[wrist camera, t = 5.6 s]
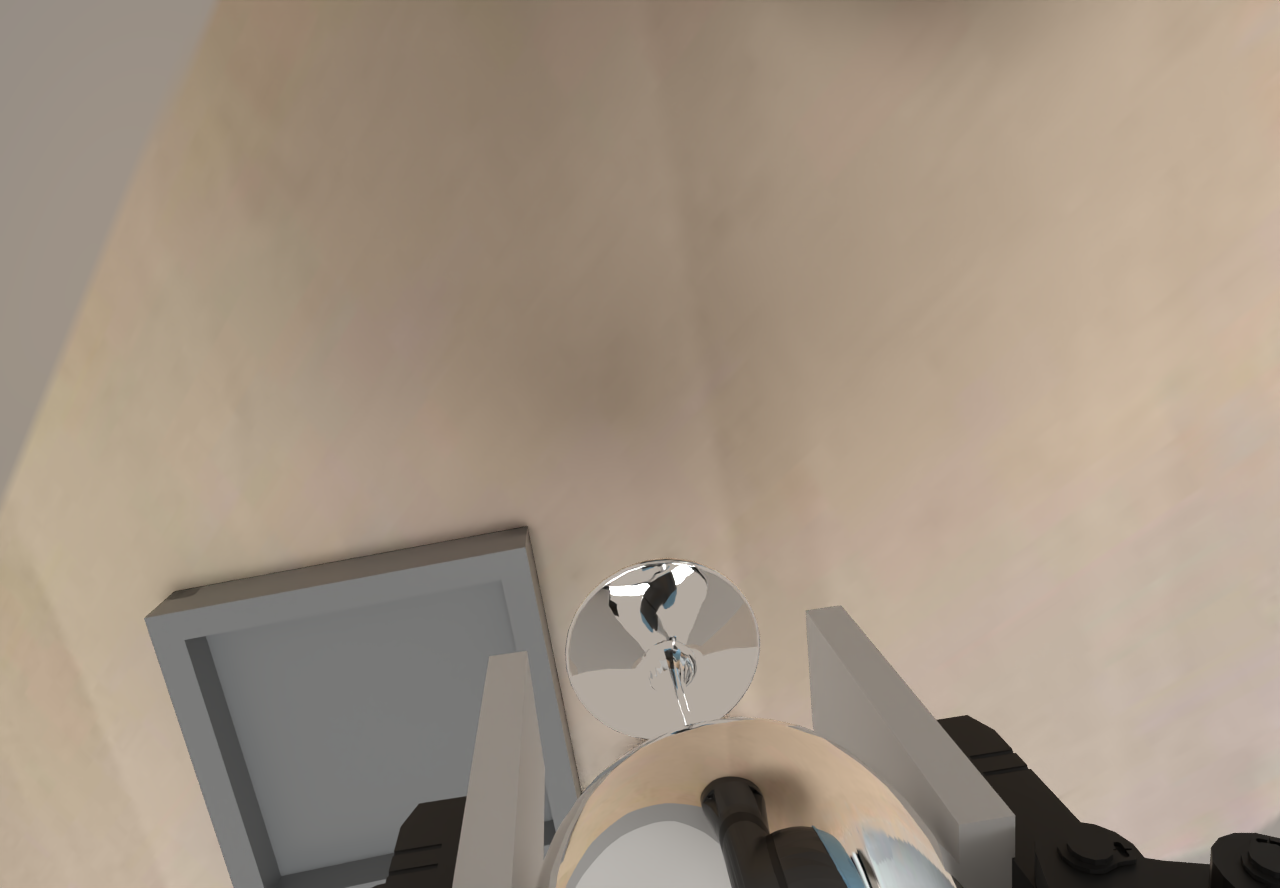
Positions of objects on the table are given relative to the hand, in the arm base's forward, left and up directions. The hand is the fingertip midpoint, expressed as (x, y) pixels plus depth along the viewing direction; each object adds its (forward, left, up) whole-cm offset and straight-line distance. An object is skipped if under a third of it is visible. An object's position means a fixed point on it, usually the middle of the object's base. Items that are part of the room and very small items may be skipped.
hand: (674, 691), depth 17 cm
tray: (+10, -12, -19) cm, 24 cm away
